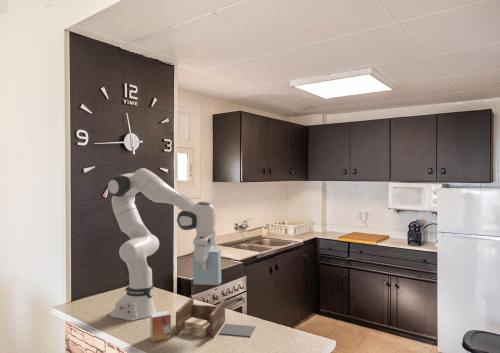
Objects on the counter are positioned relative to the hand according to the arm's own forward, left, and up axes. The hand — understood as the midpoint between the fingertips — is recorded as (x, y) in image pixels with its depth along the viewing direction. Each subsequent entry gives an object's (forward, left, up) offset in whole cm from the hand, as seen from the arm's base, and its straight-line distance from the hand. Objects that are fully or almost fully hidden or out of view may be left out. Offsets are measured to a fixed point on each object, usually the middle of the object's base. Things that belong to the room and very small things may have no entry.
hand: (207, 267), depth 167 cm
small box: (-17, -14, -28) cm, 35 cm away
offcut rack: (-3, -1, -28) cm, 28 cm away
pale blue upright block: (0, 0, -7) cm, 7 cm away
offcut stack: (-3, -6, -28) cm, 29 cm away
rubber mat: (+14, -1, -28) cm, 31 cm away
